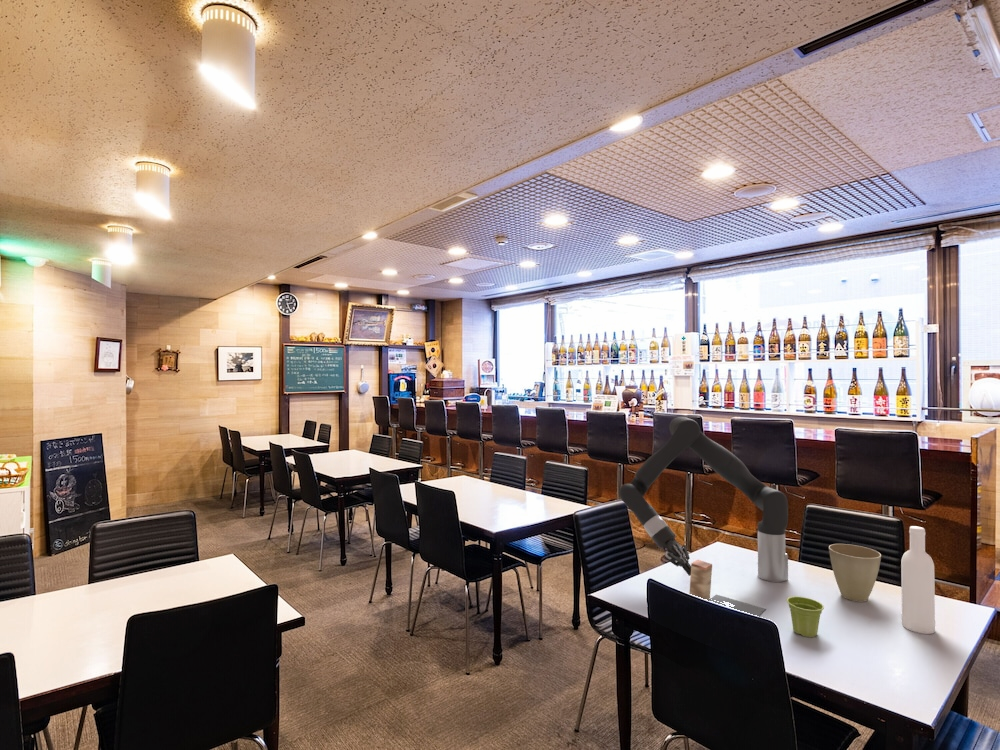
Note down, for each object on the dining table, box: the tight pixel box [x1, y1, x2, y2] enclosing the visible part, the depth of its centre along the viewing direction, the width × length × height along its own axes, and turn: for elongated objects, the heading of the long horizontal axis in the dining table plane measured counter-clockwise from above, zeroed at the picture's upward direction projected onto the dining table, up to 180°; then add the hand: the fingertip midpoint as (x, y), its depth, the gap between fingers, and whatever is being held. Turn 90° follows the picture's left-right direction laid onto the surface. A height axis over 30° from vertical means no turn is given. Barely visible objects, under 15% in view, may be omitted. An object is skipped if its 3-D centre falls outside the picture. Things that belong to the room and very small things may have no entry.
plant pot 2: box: [828, 543, 882, 603], centre depth 179 cm, size 15×15×16 cm
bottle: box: [900, 525, 936, 635], centre depth 157 cm, size 8×8×30 cm
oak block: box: [688, 559, 713, 600], centre depth 179 cm, size 5×5×12 cm
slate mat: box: [709, 594, 767, 617], centre depth 171 cm, size 16×13×1 cm
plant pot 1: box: [786, 596, 825, 638], centre depth 155 cm, size 9×9×9 cm
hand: (692, 573), depth 181 cm, fingers closed
